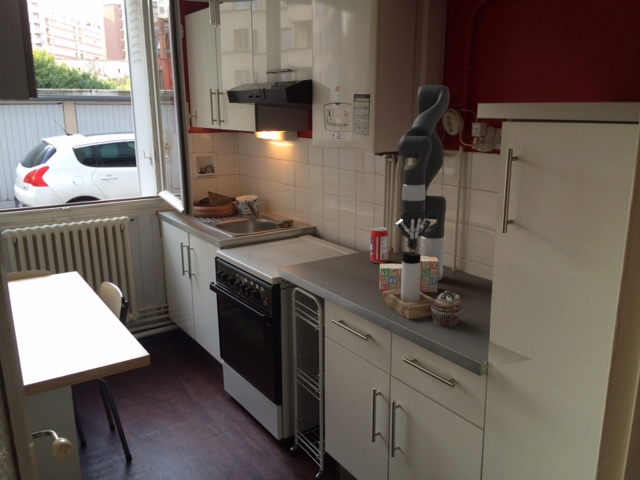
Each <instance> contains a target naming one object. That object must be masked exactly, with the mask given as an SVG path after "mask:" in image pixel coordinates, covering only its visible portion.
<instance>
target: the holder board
mask: <svg viewBox="0 0 640 480" xmlns="http://www.w3.org/2000/svg"><path fill="white" fill-rule="evenodd" d="M381 293H382V294H381V295H382V300H381V301H382V303H383V304H385V305H386V306H388V307H389V308H390V307H391V309H392V310H393V309H394V311H395V312H396V311H397V312H396V313H398V314H399V313H400V314H399V315H401V316H402V315H403V316H402V317H404V318H405V317H406V319H407V320H408V319H410V320H415V319H419V318H421V319H422V318H426V317H432V310H431V306H432V304H434V300H435V299H434V298H433V297H431V296H429V295H427V294H426V293H425V292H420V294H419V301H415V302H409V303H405V302H403V301H402V300H401V289H394V290H387V291H381ZM414 318H415V319H414Z"/></svg>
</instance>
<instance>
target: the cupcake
mask: <svg viewBox="0 0 640 480" xmlns="http://www.w3.org/2000/svg"><path fill="white" fill-rule="evenodd" d="M462 309H463V306H462V300H461V299H460V294H459V293H457V292H454V291H450V290H449V289H447V290H445V291H444V292H443V291H442V292H441V293H440V294H439V295H438V296H437V297H436V298H435V299H434V304H432V306H431V310H432V316H431V317H432V321H433V323H434V324H435V325H438V326H441V327H453V326H454V327H455V325H458V322H459V321H460V316H461V315H460V314H461V312H462Z"/></svg>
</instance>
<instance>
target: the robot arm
mask: <svg viewBox="0 0 640 480" xmlns="http://www.w3.org/2000/svg"><path fill="white" fill-rule="evenodd" d="M450 95H451V93H450V89H449V87H448V86H446V85H441V84H435V85H433V84H430V85H420V86H419V88H418V90H417V96H416V102H417V116H416V118H415V119H414V121H413V123H412V126H411V128H409V130H407V131H406V132H405V133H404V134H403V135H402V136H401V138H400V139H399V142H398V144H397V145H398V146H397V151H398V154H399V155H400V156H401V157H403V158H405V159H418V160H417V161H418V162H417V163H416V164H411V165H407V166H404V168H403V172H402V173H403V176H402V177H403V178H402V179H403V180H402V183H403V184H402V189H401V215H400V219H399V221H396V222H395V223H394V226H395V228H396V229H397V231H399V233H400V234H401V236H402V237H404V238H407V240H406V241H407V245H406V246H407V248H408V250H416V249H417V246H418V238H419V237H420V238H419V239H420V241H419V252H418V254H421V256H428V257H437V259H438V261H439V264H438V269H439V272H438V281H440V280H442V279H443V270H444V268H443V267H444V250H445V249H444V246H445V223H446V215H447V214H446V212H447V199H446V197H445V196H442V195H428V193H427V192H428V190H429V188H430V185H431V183H432V182H433V180H434V178H435V177H436V176H437V175H438V173H439V172H440V170H441V168H442V166H443V164H444V145H443V143H442V141H441V138H440V137H439V135H438V134H437V133H436V131H435V127H436V125H437V123H438V122H439V121H440V120H441V118H442V117H443V115H444V114H445V113H446V111H447V110H448V107H449V104H450V97H451V96H450ZM431 220H436V221H435V223H433V224H431Z"/></svg>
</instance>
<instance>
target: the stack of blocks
mask: <svg viewBox="0 0 640 480" xmlns="http://www.w3.org/2000/svg"><path fill="white" fill-rule="evenodd" d="M420 261H421V263H420V264H421V265H420V292H422V293H438V286H439V285H438V284H439V280H438V272H439V269H438V264H439V261H438V259H437V257H428V256H421V259H420ZM401 275H402V263H379V291H380V292H382V291H387V290H394V289H401Z"/></svg>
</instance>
